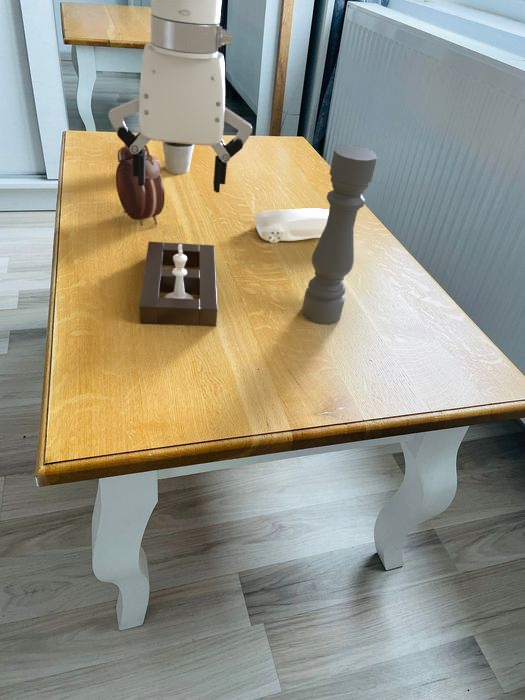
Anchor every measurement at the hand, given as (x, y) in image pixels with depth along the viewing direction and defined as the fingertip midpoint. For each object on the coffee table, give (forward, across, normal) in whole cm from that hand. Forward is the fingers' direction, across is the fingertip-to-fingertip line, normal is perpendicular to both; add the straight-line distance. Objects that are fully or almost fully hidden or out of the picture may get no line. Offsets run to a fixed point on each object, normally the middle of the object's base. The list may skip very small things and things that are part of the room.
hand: (179, 185), depth 72 cm
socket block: (+19, -1, -5) cm, 19 cm away
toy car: (+18, -24, -27) cm, 40 cm away
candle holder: (+19, -23, 0) cm, 29 cm away
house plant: (+18, +2, -56) cm, 59 cm away
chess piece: (+19, -1, 0) cm, 19 cm away
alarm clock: (+19, +7, -29) cm, 35 cm away
